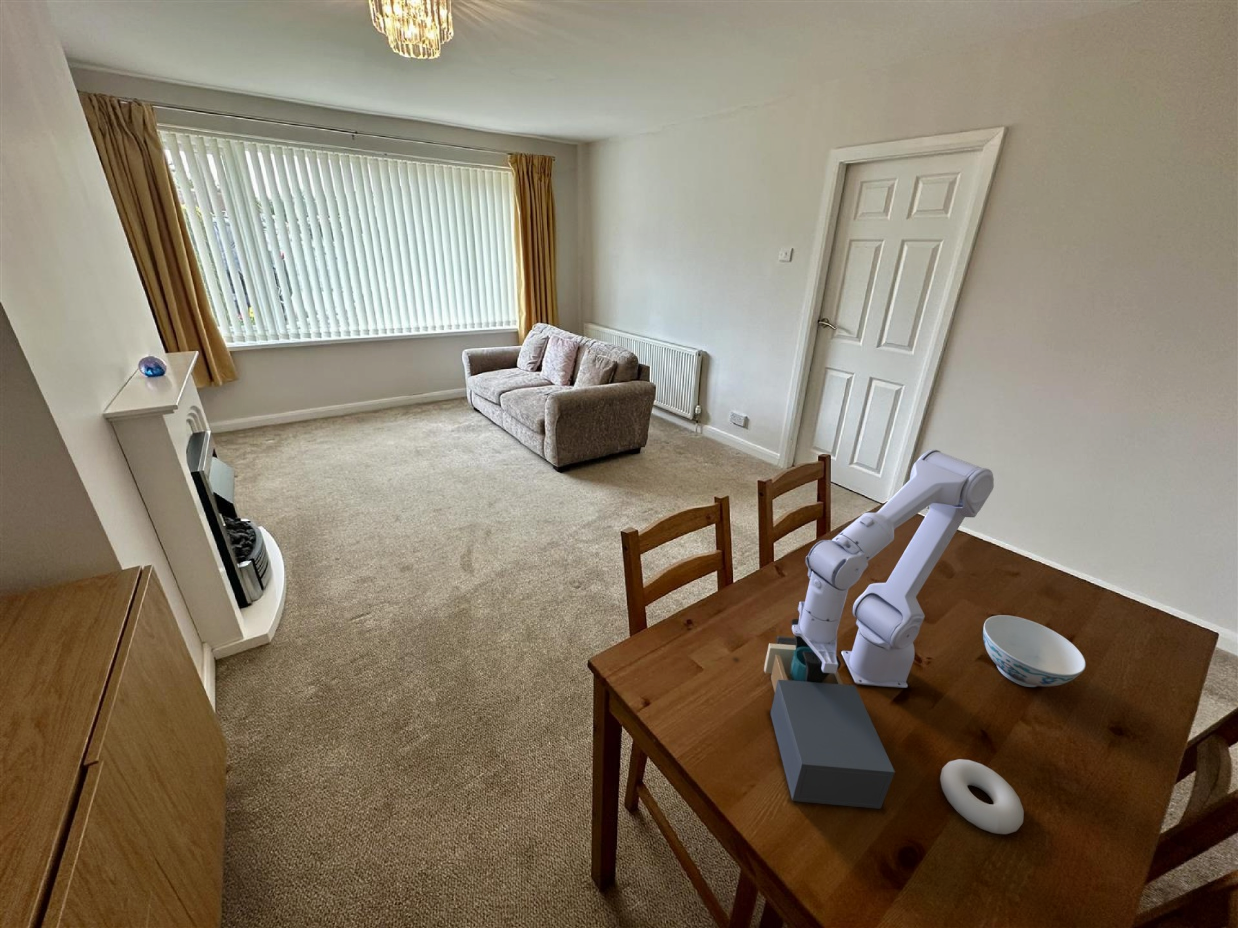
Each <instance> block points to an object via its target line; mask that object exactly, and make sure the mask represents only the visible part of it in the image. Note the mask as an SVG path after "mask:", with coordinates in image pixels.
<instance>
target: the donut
mask: <svg viewBox="0 0 1238 928" xmlns="http://www.w3.org/2000/svg"><path fill="white" fill-rule="evenodd" d="M939 781H940V785H941V790H942V792H943V794H944V796H945V798H946V800H947V802H948V803H949V804H950V805H951V806H952V807H953V809H954V810H955V811H956V812H957V813H958V814H959V815H960V816H961V817H963V818H964V819H965V820H966V821H967V822H969V823H971V824H972V825H974V826H976V827H977V828H979V829H980V830H982V831H983V830H984V831H985V832H989V833H992V834H998V835H1008V834H1012V833H1014V832H1017V831H1018V830H1019V829H1020V827H1021V826H1022V825H1023V823H1024V817H1025V816H1024V814H1025V811H1024V808H1023V805H1022V801H1021V799H1020V797H1019V796H1018V794H1017V793H1016V791H1015V789H1014V788H1013V787H1012V786H1011V785H1010V784H1009V783H1008V782H1007V781H1006V780H1005V779H1004V778H1003V776H1001V775H999V774H998V773H997V772H996V771H995V770H993V769H991V768H989V767H988V766H986V765H984V764H983V763H980V762H976V761H973V760H970V759H963V758H962V759H961V758H958V759H955V760H950V761H948V762H947V763H946V764H945V765H944V766H943V767H942V769H941V772H940V777H939ZM968 786H973V787H975V788H977V789H980V790H981V791H982V792H984V793H985V794H986V795H987V796H988V797H989V798H990V799H991V801H992V804H989V803H987V802H984V801H983V800H981V799H979V798H977V797H976V796H975V795H974V794H973V793H972V792H971V790H970V789H969V787H968Z"/></svg>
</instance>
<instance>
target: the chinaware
mask: <svg viewBox="0 0 1238 928" xmlns="http://www.w3.org/2000/svg"><path fill="white" fill-rule="evenodd" d="M982 638H983V639H982V640H983V644H984V647H985V649H986V652H987V654H988V655H989V657H990V659H991V660H992V662H993V663H994V664H995V665H996V668H997V669H998V671H999V672H1000V673H1001V674H1002V675H1003V676H1004V677H1005V678H1007V679H1008V680H1009V681H1011V682H1012V683H1015V684H1017V685H1020V686H1023V687H1028V688H1036V687H1056V686H1062V685H1064V684H1067V683H1069V682H1071V681H1073V680H1075V679H1076V678H1077V677H1078V676H1080V675H1081V674H1082V673H1083V672H1084V671H1085V669H1086V666H1087V665H1086V663H1087V662H1086V659H1085V657H1084V655H1083V654H1082V653H1081V651H1080V649H1078V648H1077V647H1076V646H1075V645H1074V644H1073V643H1072V642H1071V641H1070V640H1068V639H1067V638H1066V637H1065V636H1063V635H1061V634H1059V633H1058V632H1056V631H1055V630H1053V629H1051V628H1049V627H1047V626H1045V625H1043V624H1040V623H1038V622H1036V621H1032V620H1030V619H1027V618H1024V617H1019V616H1016V615H1015V616H1014V615H1008V614H1007V615H1005V614H1003V615H1002V614H999V615H993V616H990V617H988V618H987V619H986V620H985V621H984V624H983V630H982Z"/></svg>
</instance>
